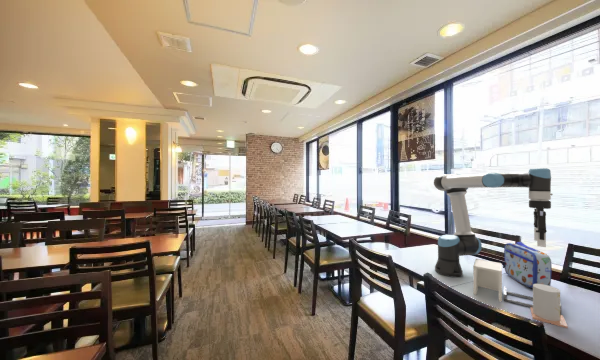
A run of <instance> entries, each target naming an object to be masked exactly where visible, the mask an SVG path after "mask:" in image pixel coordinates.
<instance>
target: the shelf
mask: <svg viewBox="0 0 600 360" xmlns="http://www.w3.org/2000/svg"><path fill="white" fill-rule="evenodd" d="M473 263H474V264H473V265H472V266H473V267H472V268H473V286H472V288H473V295H475V296H477V294H478V289H479V288H484V289H488V290H491V291H492V290H493V291H495V292H498V302H503V295H502V294H503V286H502V285H503V275H502V274H503V271H502V270H503V262H502V263H501V262H496V261H491V260H486V259H479V258H475V259H474V262H473Z"/></svg>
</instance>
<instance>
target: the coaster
mask: <svg viewBox="0 0 600 360" xmlns="http://www.w3.org/2000/svg"><path fill="white" fill-rule="evenodd" d="M529 309H530V312H531V316H532V320H536V321H539V322H543V323H547V324H550V323H551V324H552V325H554V326H558V327H562V328H565V329H568V327H569V326H568V324H567V322H566V319H565V317H564V315H562V314H561V315H560V321H551V320H547V319H543V318H541V317H539V316H537V315H535V314H534V313H533V308H532V307H529ZM551 324H550V325H551Z"/></svg>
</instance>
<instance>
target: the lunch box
mask: <svg viewBox="0 0 600 360" xmlns="http://www.w3.org/2000/svg"><path fill="white" fill-rule="evenodd" d="M503 250H504V251H503V255H504V257H503V258H504V261H503V262H502V269H504V272H505V274H507V276H508V277H510V278H511V279H513V280H515V281H516V282H518V283H520V284H522V285H523V286H526V287H528V288H532V289H533V284H543V285H548V286H551V284H552V259H551V257H550V256H549V255H548V254H547V253H545V252H543V251H541V250H538V249H535V248H533V247H530V246H528V245H526V244H525V243H524V242H522V241H516V242H515V243H514V242H507V243H506V244H504V249H503Z"/></svg>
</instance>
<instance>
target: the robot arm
mask: <svg viewBox="0 0 600 360" xmlns="http://www.w3.org/2000/svg"><path fill="white" fill-rule="evenodd" d="M551 173H552V172H551V170H550V169H549V168H545V167H543V168H542V167H540V168H538V167H537V168H536V167H535V168H529V169H528V172H489V173H478V174H477V173H475V174H459V173H448V174H445V173H442V174H439V175H437V176H436V177H434V180H433V185H434V188H435V189H436V190H439V191H442V192H446V195H447V196H448V197H449V200H450V205H451V210H452V216H453V221H454V228H455V229H454V230H455V232H454V233H453V234H443V235H439V237H438V239H437V260H436V263H435V266H434V271H435V272H436V273H438V274H440V275H443V276H446V277H449V278H450V277H452V278H461V277H463V275H464V274H463V273H464V272H463V269H462V265H461V263H460V257H461V256H462V257H463V256H464V257H465V256H473V255H479V253H480V252H481V251H482V247H483V246H482V245H483V244H482V241H481V240H480V239H479V237H477V236H476V233H474V232H473V231H472V228H471V222H470V217H469V216H470V215H469V211H468V206H467V205H468V204H467V200H466V196H465V195H466V194H467V193H468V190H469V188H472V189H474V188H477V189H478V188H484V189H485V188H493V189H494V188H496V189H497V188H528V199H529V201H528V207H529V208H530V209H534V211H533V227H534V228H533V229H534V230H533V232H534V233H533V238H534V239H533V240H534V241H535V242H536V243H537V244H536V246H537V247H540V248H546V247H547V236H546V235H547V232H548V231H547V222H546V221H547V219H546V216H547V212H546V211H544V210H545V209H546V210H550V209H551V208H552V201H551V200H552V197H551V196H553V193H551V192H552V191H551V189H552V188H551V186H552V185H551V183H552V175H551Z"/></svg>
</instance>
